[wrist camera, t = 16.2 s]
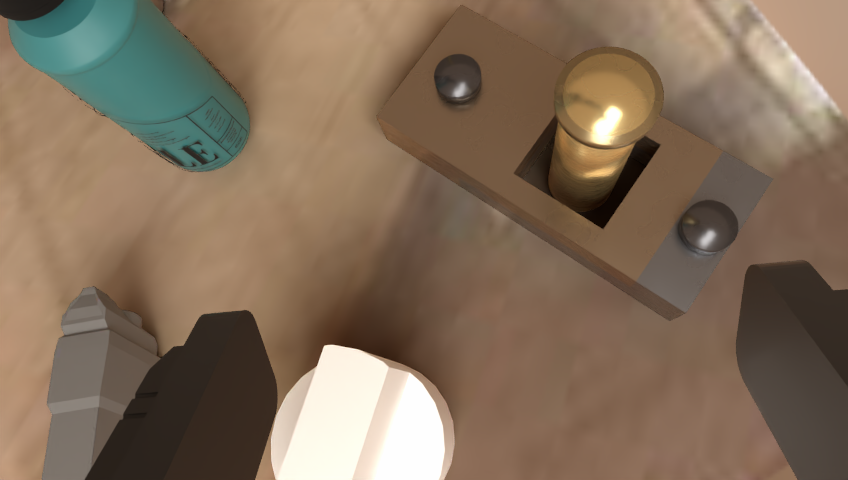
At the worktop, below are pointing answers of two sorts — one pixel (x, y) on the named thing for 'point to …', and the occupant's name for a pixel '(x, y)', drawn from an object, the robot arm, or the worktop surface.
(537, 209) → the metal socket block
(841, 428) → the robot arm
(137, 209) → the worktop surface
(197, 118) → the beverage bottle
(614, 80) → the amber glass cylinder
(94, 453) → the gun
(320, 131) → the worktop surface
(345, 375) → the cylinder with rectangular tab
